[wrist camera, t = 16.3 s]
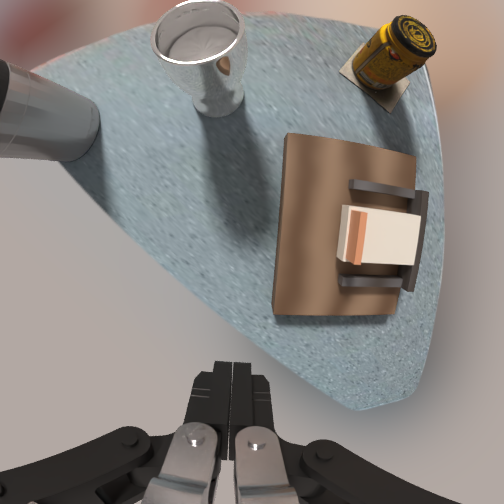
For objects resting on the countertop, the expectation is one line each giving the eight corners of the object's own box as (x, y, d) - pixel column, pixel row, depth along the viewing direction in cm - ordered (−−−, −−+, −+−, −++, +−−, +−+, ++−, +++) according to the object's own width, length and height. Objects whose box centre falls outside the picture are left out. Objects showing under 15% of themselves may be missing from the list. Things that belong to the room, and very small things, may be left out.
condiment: (362, 42, 26) (401, -1, 14) (409, 82, 27) (461, 54, 15) (338, 72, 27) (376, 27, 15) (389, 114, 28) (444, 89, 17)
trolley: (333, 253, 29) (351, 268, 24) (338, 204, 28) (358, 207, 22) (399, 258, 29) (425, 271, 24) (406, 213, 28) (433, 218, 23)
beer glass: (255, 77, 27) (260, 4, 13) (237, 128, 29) (228, 76, 14) (200, 65, 27) (171, -6, 12) (180, 114, 28) (131, 63, 13)
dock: (271, 303, 33) (276, 326, 28) (284, 137, 29) (292, 126, 23) (384, 305, 34) (404, 324, 28) (403, 158, 29) (430, 154, 24)
